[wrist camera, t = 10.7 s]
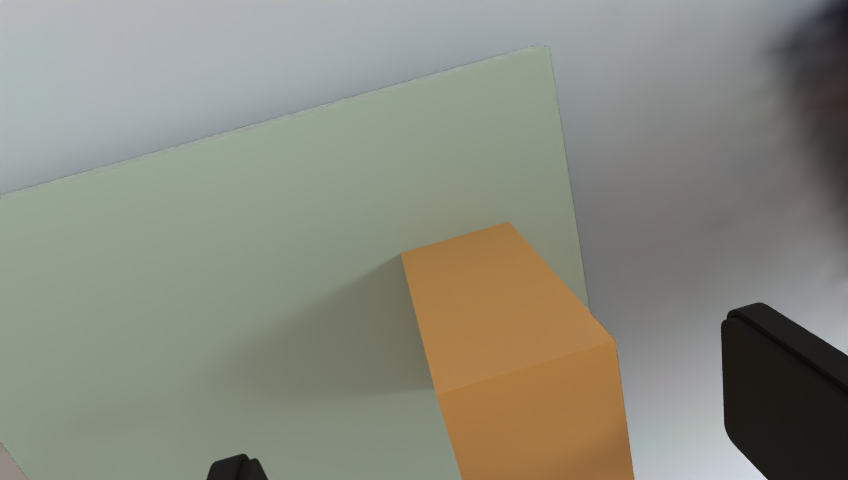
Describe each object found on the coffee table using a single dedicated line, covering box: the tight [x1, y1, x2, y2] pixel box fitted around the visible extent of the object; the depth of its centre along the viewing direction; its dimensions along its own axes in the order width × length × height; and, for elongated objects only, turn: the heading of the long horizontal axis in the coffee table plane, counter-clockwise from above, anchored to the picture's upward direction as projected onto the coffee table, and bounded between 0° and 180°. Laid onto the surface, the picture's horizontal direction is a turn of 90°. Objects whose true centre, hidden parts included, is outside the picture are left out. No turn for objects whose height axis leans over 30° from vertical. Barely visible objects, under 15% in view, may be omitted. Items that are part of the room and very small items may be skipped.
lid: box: [0, 46, 634, 480], centre depth 13 cm, size 17×13×8 cm
